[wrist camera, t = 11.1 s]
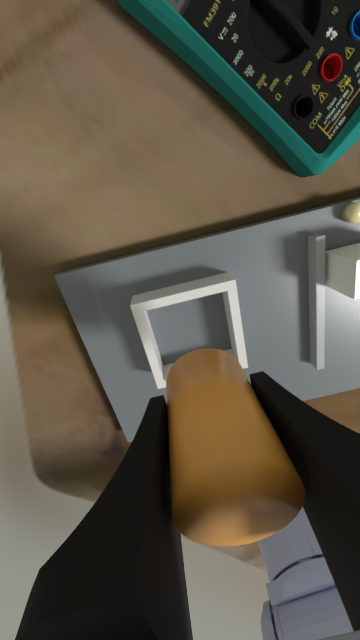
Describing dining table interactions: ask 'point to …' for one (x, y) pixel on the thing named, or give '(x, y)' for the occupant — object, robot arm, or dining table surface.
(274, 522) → the cap
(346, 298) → the panel
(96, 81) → the dining table surface
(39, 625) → the robot arm
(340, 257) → the block
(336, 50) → the digital multimeter
